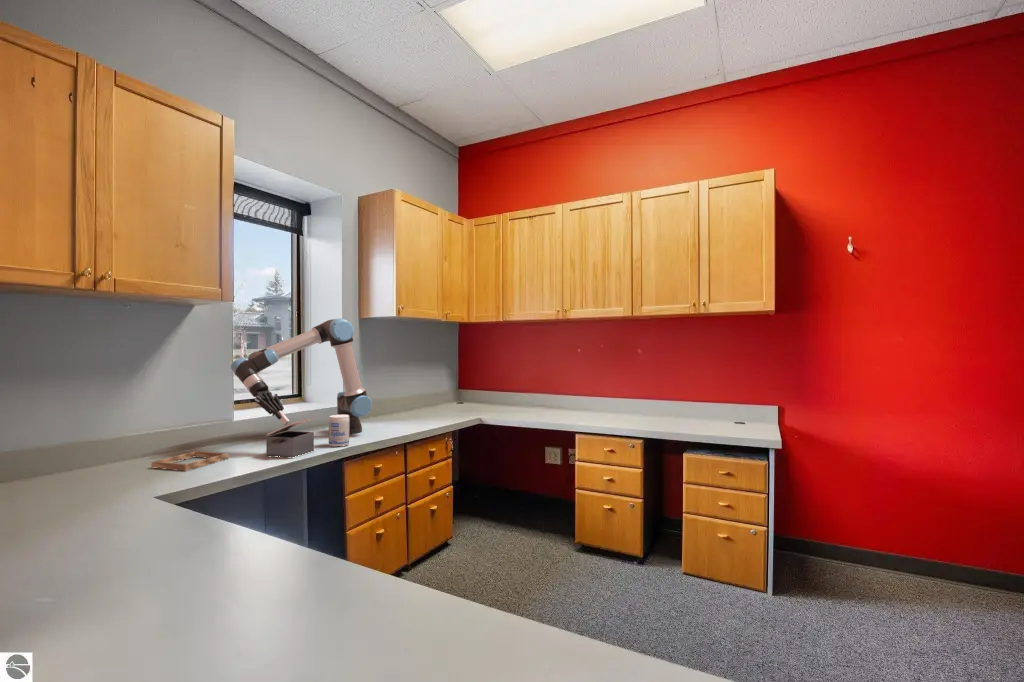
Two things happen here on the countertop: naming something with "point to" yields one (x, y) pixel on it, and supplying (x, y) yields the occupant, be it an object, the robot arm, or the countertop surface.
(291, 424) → the lid
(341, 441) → the supplement tub
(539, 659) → the countertop surface
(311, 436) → the dark grey storage box
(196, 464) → the corral
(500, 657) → the countertop surface
